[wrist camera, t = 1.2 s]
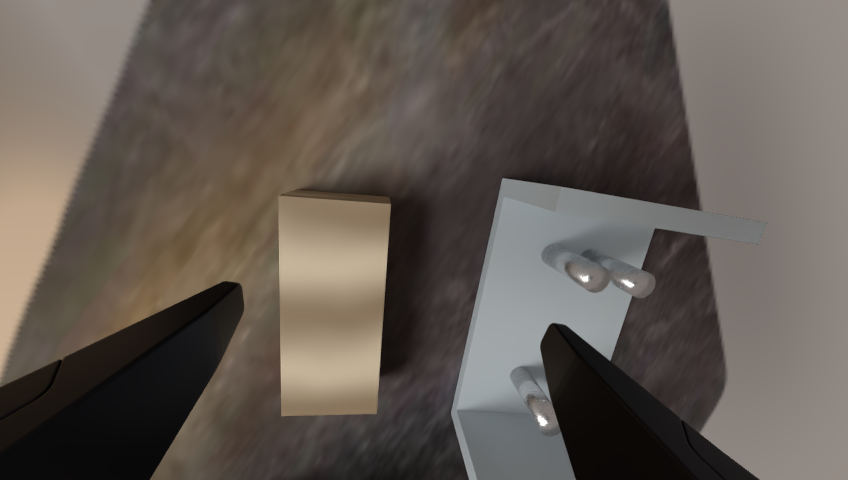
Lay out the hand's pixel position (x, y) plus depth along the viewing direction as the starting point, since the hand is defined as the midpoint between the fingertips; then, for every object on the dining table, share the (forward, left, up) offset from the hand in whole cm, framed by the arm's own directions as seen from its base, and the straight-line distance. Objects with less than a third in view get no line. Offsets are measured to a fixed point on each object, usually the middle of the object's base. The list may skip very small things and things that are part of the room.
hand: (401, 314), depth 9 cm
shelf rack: (-5, -13, -13) cm, 19 cm away
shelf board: (-5, +3, -13) cm, 15 cm away
